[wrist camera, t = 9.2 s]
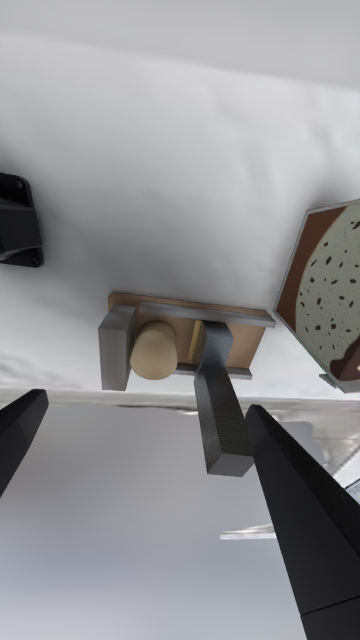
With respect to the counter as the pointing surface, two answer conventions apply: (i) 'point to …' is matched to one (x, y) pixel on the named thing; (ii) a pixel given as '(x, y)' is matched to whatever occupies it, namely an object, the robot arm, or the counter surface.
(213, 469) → the block
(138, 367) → the nut
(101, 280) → the counter surface
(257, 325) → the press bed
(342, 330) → the food container
